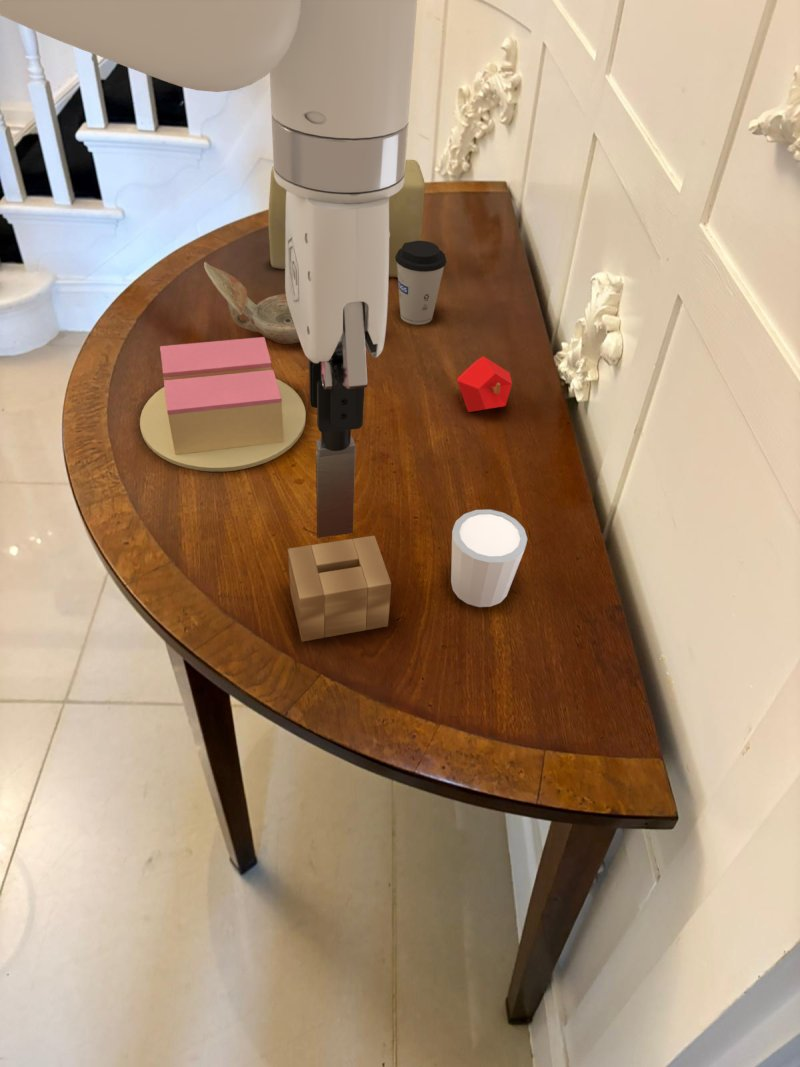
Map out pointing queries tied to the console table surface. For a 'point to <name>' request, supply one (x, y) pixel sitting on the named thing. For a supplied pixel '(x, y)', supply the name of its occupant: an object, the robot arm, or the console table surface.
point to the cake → (221, 407)
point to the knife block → (339, 587)
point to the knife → (335, 480)
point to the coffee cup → (419, 280)
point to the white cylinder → (485, 556)
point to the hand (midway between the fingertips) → (335, 414)
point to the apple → (484, 385)
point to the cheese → (401, 216)
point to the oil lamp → (255, 309)
